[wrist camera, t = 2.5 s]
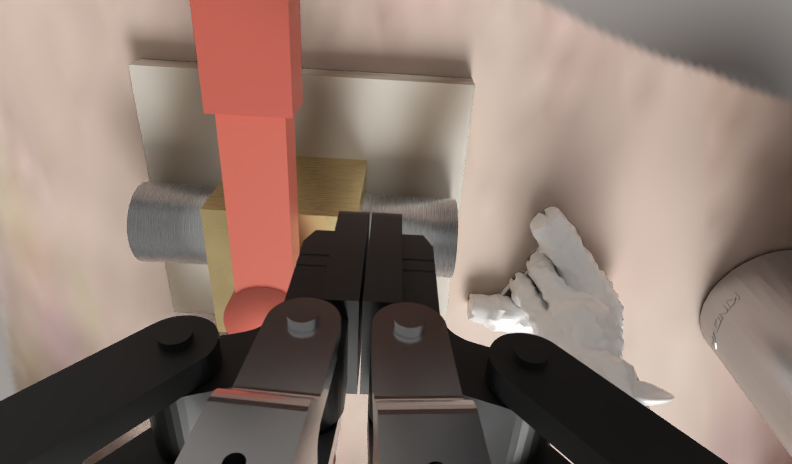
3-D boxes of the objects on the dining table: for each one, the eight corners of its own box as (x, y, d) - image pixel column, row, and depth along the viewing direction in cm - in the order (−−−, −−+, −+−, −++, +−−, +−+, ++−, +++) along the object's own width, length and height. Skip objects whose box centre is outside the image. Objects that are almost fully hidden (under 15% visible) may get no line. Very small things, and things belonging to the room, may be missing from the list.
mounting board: (472, 78, 29) (475, 85, 28) (443, 312, 37) (444, 326, 35) (140, 58, 29) (128, 64, 27) (182, 298, 37) (174, 311, 35)
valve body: (455, 165, 30) (468, 224, 24) (443, 269, 33) (452, 344, 27) (152, 147, 30) (86, 202, 24) (171, 254, 33) (118, 326, 27)
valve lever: (320, 314, 26) (309, 360, 23) (246, 310, 26) (227, 355, 23) (313, -19, 19) (297, -11, 16) (211, -25, 19) (177, -18, 16)
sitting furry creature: (545, 195, 32) (611, 319, 22) (651, 258, 34) (758, 398, 24) (458, 303, 37) (479, 450, 26) (557, 353, 39) (614, 508, 28)
